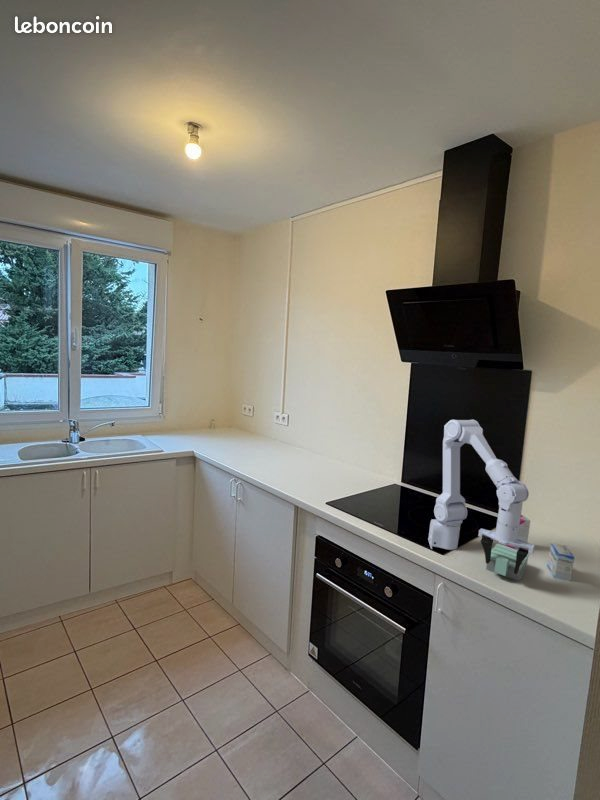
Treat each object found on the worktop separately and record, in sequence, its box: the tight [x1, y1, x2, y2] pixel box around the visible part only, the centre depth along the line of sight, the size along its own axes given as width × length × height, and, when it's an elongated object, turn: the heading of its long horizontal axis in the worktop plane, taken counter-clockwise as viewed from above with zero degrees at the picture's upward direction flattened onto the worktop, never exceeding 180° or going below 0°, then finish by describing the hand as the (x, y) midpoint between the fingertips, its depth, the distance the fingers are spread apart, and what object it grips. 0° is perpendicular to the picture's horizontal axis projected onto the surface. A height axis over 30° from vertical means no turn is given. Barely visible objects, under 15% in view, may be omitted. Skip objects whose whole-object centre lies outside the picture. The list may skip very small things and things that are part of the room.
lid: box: [491, 542, 530, 577], centre depth 126 cm, size 9×14×4 cm, turn 141°
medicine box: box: [546, 542, 575, 582], centre depth 127 cm, size 8×4×9 cm, turn 163°
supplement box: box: [505, 514, 531, 550], centre depth 144 cm, size 6×6×12 cm
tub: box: [485, 557, 529, 582], centre depth 128 cm, size 9×11×4 cm
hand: (501, 567), depth 121 cm, fingers open, 7 cm apart
